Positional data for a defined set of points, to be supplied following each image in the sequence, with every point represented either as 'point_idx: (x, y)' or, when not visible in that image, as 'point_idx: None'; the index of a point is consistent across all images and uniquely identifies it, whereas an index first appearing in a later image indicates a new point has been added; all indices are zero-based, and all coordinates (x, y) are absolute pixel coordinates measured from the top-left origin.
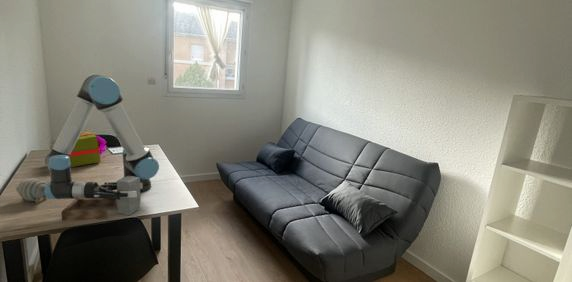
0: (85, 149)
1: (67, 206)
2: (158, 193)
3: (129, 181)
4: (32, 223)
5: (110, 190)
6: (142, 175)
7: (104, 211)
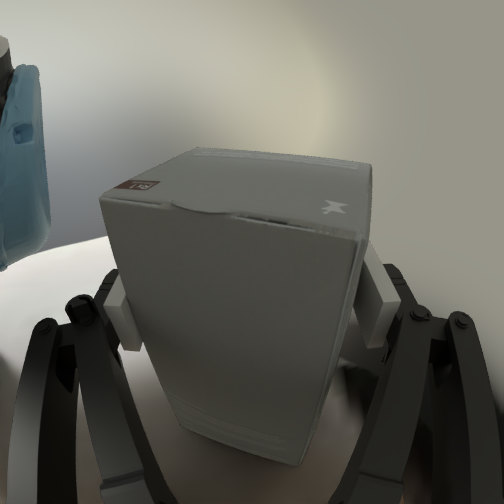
0: None
1: None
2: (45, 313)
3: (338, 160)
4: None
5: (383, 425)
6: (45, 209)
7: (402, 499)
